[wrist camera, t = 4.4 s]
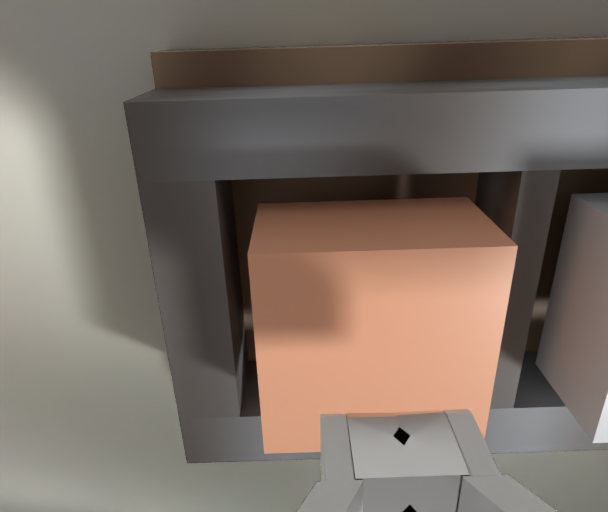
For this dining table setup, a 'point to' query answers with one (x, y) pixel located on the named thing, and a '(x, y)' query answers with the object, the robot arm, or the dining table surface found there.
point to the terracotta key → (374, 311)
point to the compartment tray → (359, 194)
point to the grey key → (580, 317)
